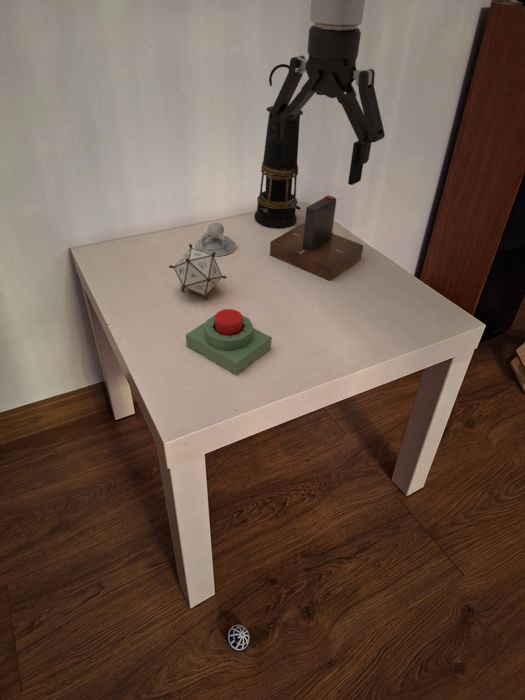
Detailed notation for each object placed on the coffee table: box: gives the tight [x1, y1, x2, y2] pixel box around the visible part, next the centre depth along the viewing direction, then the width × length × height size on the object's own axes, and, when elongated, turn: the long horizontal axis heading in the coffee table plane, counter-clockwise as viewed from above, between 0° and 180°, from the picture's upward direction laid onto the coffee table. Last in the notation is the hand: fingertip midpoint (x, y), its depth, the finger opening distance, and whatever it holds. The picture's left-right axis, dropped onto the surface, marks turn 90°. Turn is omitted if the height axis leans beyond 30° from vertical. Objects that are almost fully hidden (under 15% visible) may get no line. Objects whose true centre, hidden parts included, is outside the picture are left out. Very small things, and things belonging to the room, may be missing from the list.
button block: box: [185, 314, 272, 376], centre depth 79 cm, size 10×8×4 cm
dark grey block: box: [303, 194, 337, 251], centre depth 98 cm, size 7×2×8 cm, turn 142°
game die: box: [168, 242, 228, 302], centre depth 89 cm, size 9×8×10 cm
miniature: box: [194, 222, 237, 257], centre depth 103 cm, size 8×8×5 cm
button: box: [214, 308, 243, 336], centre depth 77 cm, size 4×4×2 cm
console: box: [269, 222, 364, 282], centre depth 102 cm, size 14×11×3 cm
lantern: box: [254, 63, 304, 229], centre depth 106 cm, size 9×9×30 cm
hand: (320, 171), depth 90 cm, fingers open, 13 cm apart
